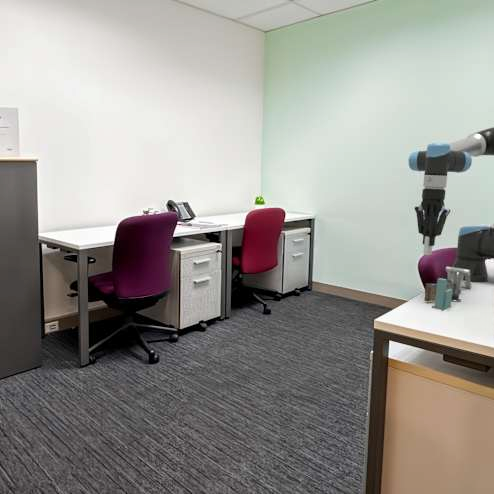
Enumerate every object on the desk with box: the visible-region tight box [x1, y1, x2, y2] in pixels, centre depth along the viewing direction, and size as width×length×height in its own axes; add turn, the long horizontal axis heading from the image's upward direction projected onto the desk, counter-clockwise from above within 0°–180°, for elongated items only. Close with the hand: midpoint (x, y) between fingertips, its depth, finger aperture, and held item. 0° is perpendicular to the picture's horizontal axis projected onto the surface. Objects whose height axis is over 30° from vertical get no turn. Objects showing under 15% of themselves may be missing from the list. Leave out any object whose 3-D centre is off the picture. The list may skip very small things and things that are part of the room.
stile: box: [431, 277, 453, 311], centre depth 160 cm, size 6×4×10 cm, turn 137°
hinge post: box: [451, 271, 462, 303], centre depth 169 cm, size 4×4×10 cm
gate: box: [424, 282, 454, 302], centre depth 166 cm, size 11×2×6 cm, turn 111°
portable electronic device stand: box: [445, 266, 473, 290], centre depth 189 cm, size 9×8×8 cm
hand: (427, 254), depth 169 cm, fingers closed
